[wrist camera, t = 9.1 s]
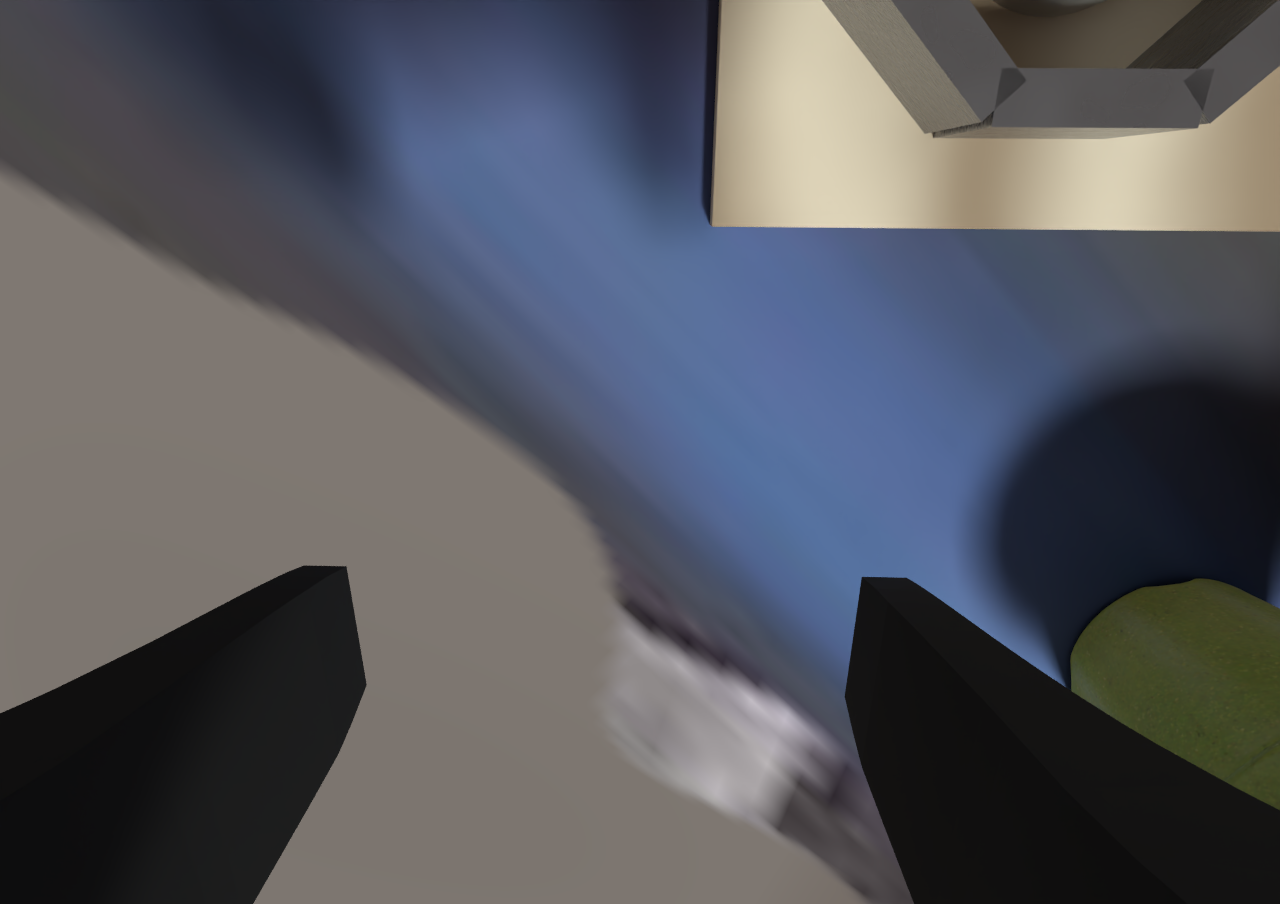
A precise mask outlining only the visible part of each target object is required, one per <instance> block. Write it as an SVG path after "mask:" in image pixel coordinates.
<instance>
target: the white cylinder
mask: <svg viewBox="0 0 1280 904" xmlns="http://www.w3.org/2000/svg"><path fill="white" fill-rule="evenodd" d="M992 1H994V2H995V3H997V4H999V5H1000V6H1002V7H1004V8H1006V9H1009V10H1011V11H1013V12H1016V13H1020V14H1024V15H1028V16H1037V17H1054V16H1062V15H1067V14H1072V13H1076V12H1079V11H1081V10H1084V9H1087V8H1090V7H1092V6H1095V5H1097V4H1099V3H1102V2H1104V1H1107V0H992Z"/></svg>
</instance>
